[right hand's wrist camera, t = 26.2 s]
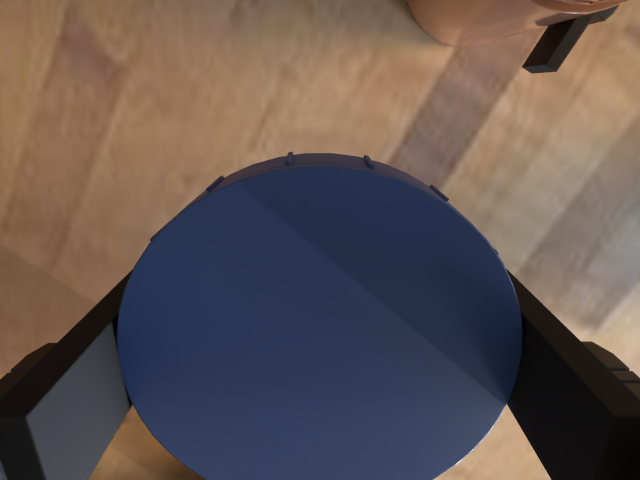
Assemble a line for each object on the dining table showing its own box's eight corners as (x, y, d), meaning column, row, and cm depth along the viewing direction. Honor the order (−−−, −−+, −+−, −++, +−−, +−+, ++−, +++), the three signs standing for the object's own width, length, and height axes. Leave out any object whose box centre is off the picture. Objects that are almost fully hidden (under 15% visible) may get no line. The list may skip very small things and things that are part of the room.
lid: (118, 413, 13) (87, 463, 11) (183, 92, 10) (153, 93, 8) (411, 486, 14) (423, 541, 13) (560, 220, 11) (606, 245, 9)
